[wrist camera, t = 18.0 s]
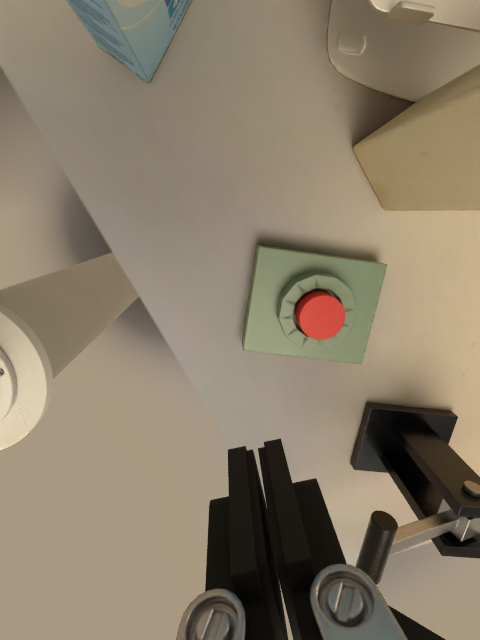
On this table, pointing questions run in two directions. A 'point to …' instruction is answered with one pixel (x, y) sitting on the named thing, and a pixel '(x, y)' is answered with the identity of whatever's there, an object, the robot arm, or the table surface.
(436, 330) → the table surface
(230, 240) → the table surface
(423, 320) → the table surface
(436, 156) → the toy refrigerator
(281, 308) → the button box
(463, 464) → the bracket
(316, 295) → the stop button
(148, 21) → the gum box
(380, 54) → the grey open cardboard box
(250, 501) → the robot arm
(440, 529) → the lever
